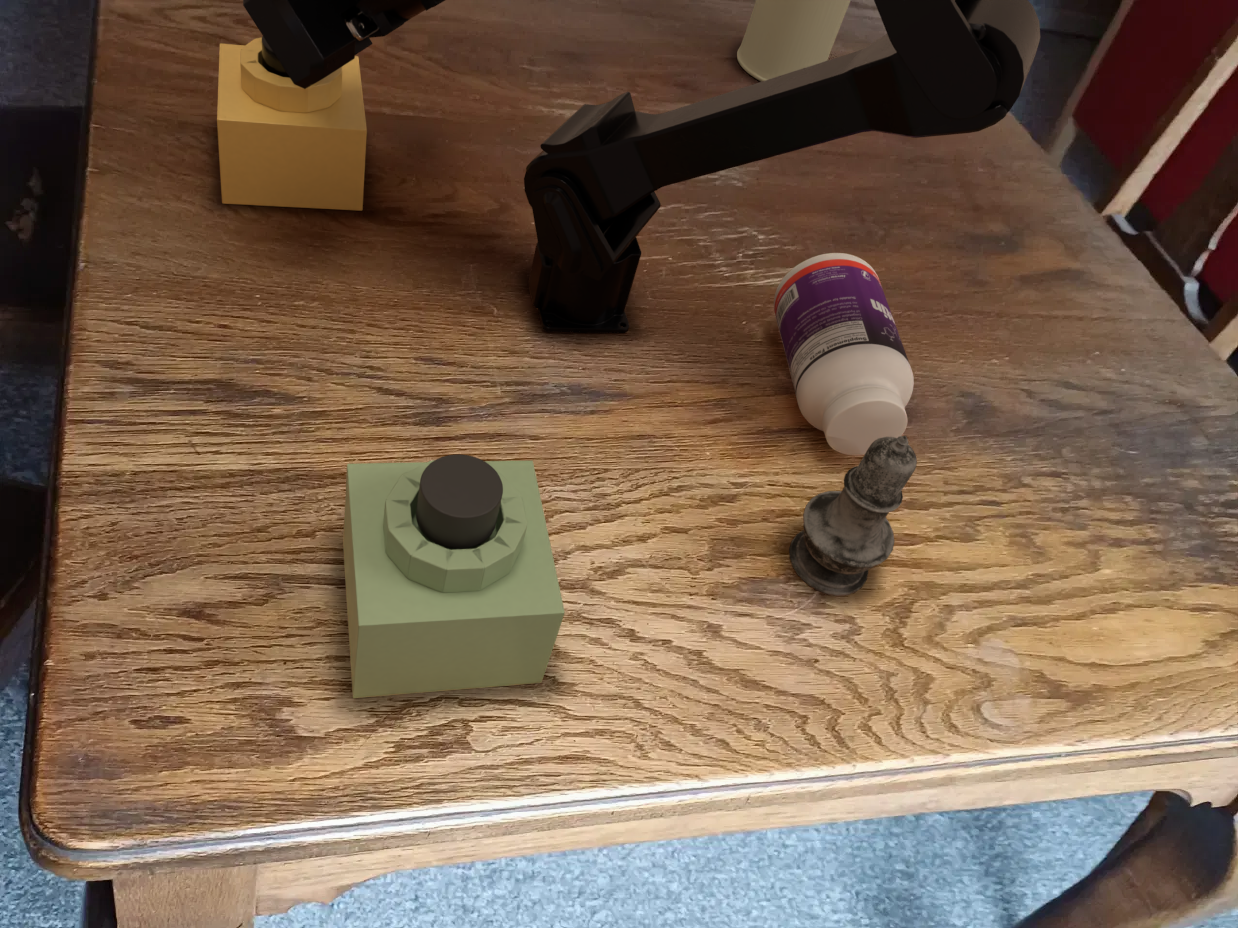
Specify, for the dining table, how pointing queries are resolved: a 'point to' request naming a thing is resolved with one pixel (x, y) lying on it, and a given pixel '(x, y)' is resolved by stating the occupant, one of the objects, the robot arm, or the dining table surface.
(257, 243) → the dining table surface
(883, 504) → the chess piece
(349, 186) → the yellow push button box
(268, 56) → the back button
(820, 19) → the can
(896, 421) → the pill bottle
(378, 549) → the green push button box
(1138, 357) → the dining table surface
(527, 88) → the dining table surface
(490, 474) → the front button
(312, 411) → the dining table surface
